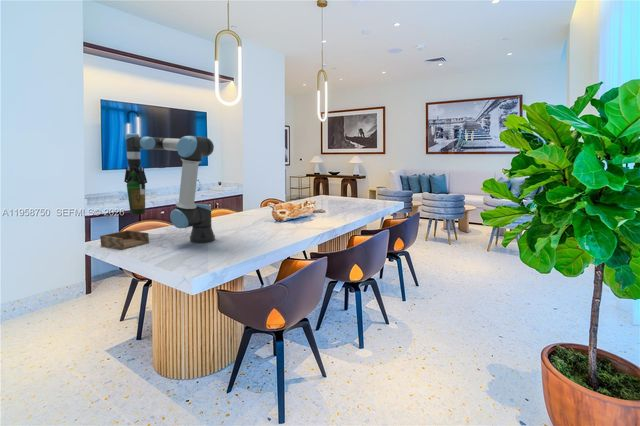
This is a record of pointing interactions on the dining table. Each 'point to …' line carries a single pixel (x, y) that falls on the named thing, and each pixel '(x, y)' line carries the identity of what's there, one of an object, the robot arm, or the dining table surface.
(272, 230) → the dining table surface
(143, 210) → the bottle
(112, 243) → the tray
